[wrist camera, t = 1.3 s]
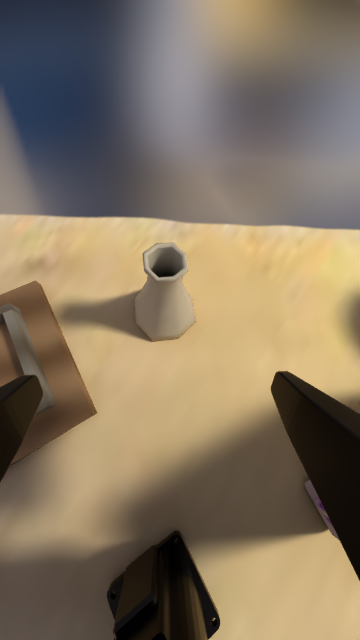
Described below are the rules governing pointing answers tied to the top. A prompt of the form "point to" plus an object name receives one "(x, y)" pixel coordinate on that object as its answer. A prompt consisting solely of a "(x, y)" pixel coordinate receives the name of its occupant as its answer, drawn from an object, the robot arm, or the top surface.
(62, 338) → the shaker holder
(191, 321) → the flask
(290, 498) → the top surface
